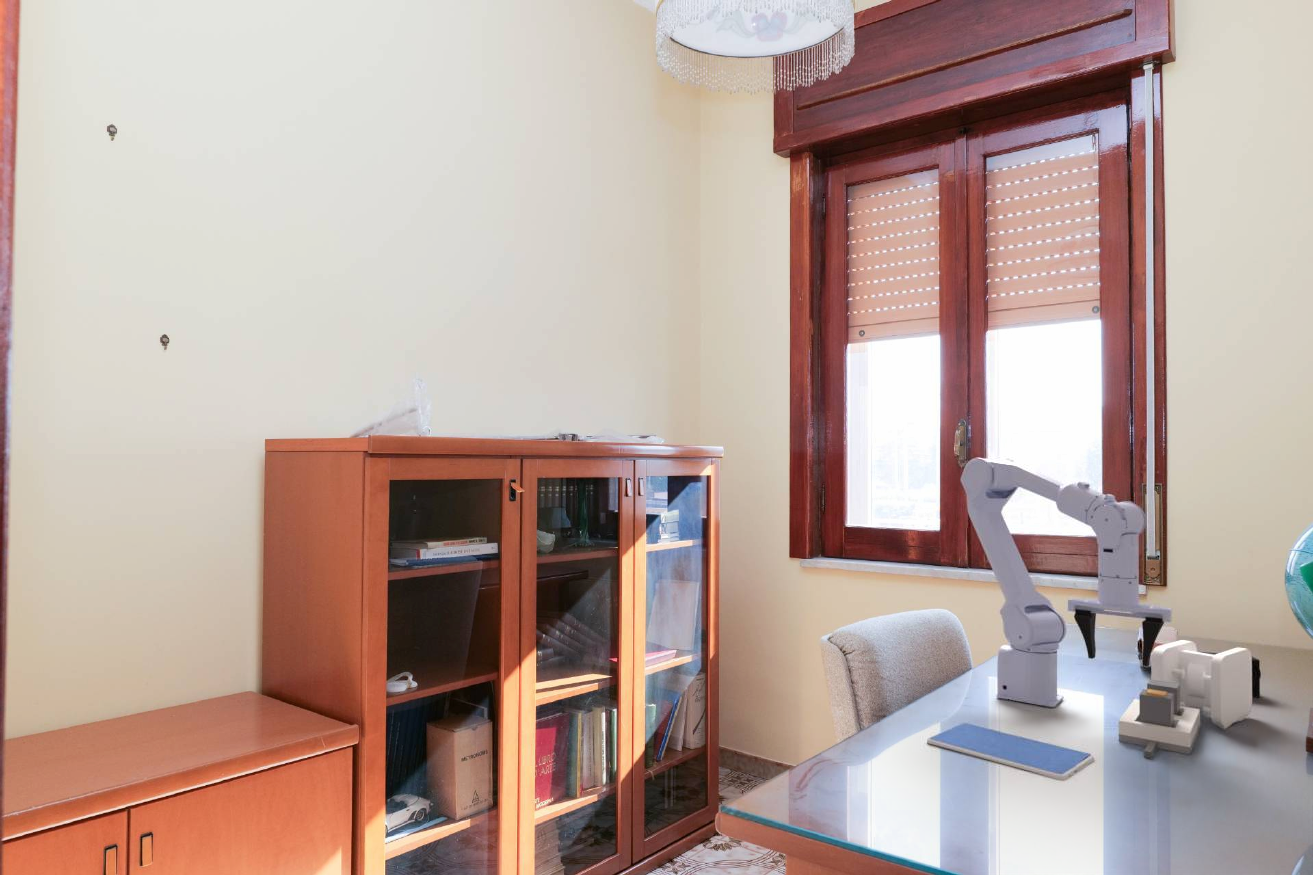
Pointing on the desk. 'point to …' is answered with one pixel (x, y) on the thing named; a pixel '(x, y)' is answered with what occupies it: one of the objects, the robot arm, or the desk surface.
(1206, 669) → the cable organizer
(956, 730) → the tablet computer
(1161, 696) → the plug
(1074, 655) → the desk surface
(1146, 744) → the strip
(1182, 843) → the desk surface
